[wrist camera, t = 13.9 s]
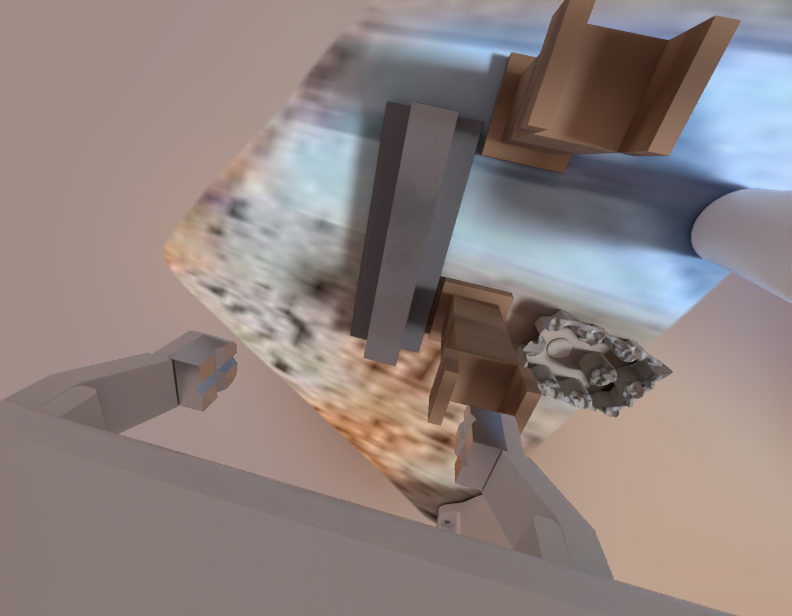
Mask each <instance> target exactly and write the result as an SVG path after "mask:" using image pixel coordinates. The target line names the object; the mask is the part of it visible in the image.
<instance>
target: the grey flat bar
mask: <svg viewBox="0 0 792 616" xmlns="http://www.w3.org/2000/svg"><path fill="white" fill-rule="evenodd" d="M410 110H411V107H410V106H406V105H401V104H397V103H392V102H387V106H386V112H385V119H384V125H383V131H382V138H381V144H380V150H379V157H378V163H377V169H376V176H375V182H374V188H373V195H372V201H371V207H370V214H369V220H368V226H367V233H366V239H365V245H364V252H363V258H362V264H361V271H360V277H359V283H358V290H357V296H356V302H355V309H354V315H353V321H352V328H351V334H350V335H351V336H354V337H358V338H362V339H366V340H367V337H368V332H369V327H370V321H371V316H372V311H373V306H374V300H375V295H376V290H377V285H378V279H379V274H380V269H381V263H382V258H383V253H384V248H385V242H386V237H387V232H388V226H389V221H390V216H391V211H392V205H393V200H394V195H395V189H396V184H397V179H398V174H399V168H400V163H401V158H402V152H403V147H404V142H405V137H406V131H407V126H408V121H409V116H410ZM482 126H483V122H479V121H474V120H470V119H465V118H461V117H457V121H456V126H455V130H454V134H453V138H452V142H451V146H450V150H449V154H448V158H447V162H446V166H445V170H444V174H443V178H442V182H441V186H440V190H439V194H438V198H437V202H436V206H435V210H434V214H433V218H432V222H431V226H430V230H429V234H428V238H427V242H426V246H425V250H424V254H423V258H422V262H421V266H420V270H419V274H418V278H417V282H416V286H415V290H414V294H413V298H412V302H411V306H410V310H409V314H408V318H407V322H406V326H405V331H404V335H403V339H402V343H401V347H400V348H402V349H406V350H410V351H414V352H418V353H419V350H420V346H421V343H422V339H423V336H424V332H425V328H426V325H427V321H428V318H429V314H430V311H431V307H432V304H433V300H434V296H435V293H436V289H437V286H438V282H439V279H440V275H441V272H442V268H443V264H444V261H445V257H446V254H447V250H448V247H449V243H450V240H451V236H452V232H453V229H454V225H455V222H456V218H457V215H458V211H459V208H460V204H461V200H462V197H463V193H464V190H465V186H466V183H467V179H468V175H469V172H470V168H471V165H472V161H473V158H474V154H475V151H476V147H477V143H478V140H479V136H480V133H481V129H482Z"/></svg>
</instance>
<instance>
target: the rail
mask: <svg viewBox="0 0 792 616" xmlns="http://www.w3.org/2000/svg"><path fill="white" fill-rule="evenodd" d="M458 113H459V112H457V111H453V110H448V109H444V108H439V107H434V106H430V105H425V104H421V103H416V102H412V105H411V110H410V116H409V121H408V126H407V131H406V137H405V142H404V147H403V152H402V158H401V163H400V168H399V174H398V179H397V184H396V189H395V195H394V200H393V205H392V211H391V216H390V221H389V226H388V232H387V237H386V242H385V248H384V253H383V258H382V263H381V269H380V274H379V279H378V285H377V290H376V295H375V300H374V306H373V311H372V316H371V321H370V327H369V332H368V337H367V343H366V348H365V353H364V358H366V359H370V360H374V361H378V362H382V363H386V364H389V365H393V366H396V363H397V359H398V355H399V351H400V347H401V343H402V339H403V335H404V331H405V326H406V322H407V318H408V314H409V310H410V306H411V302H412V298H413V294H414V290H415V286H416V282H417V278H418V274H419V270H420V266H421V262H422V258H423V254H424V250H425V246H426V242H427V238H428V234H429V230H430V226H431V222H432V218H433V214H434V210H435V206H436V202H437V198H438V194H439V190H440V186H441V182H442V178H443V174H444V170H445V166H446V162H447V158H448V154H449V150H450V146H451V142H452V138H453V134H454V130H455V126H456V121H457V117H458Z"/></svg>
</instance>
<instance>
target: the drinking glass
mask: <svg viewBox="0 0 792 616" xmlns="http://www.w3.org/2000/svg"><path fill="white" fill-rule="evenodd" d="M691 243H692V246H693V249H694V250H695V252H696V253H697V254H698V255H699V256H700V257H701V258H703V259H705V260H707V261H709V262H711V263H714V264H716V265H719V266H721V267H723V268H725V269H727V270H729V271H731V272H733V273H735V274H737V275H739V276H741V277H743V278H745V279H747V280H749V281H750V282H752V283H754V284H757V285H758V286H760V287H762V288H764V289H766V290H768V291H769V292H771V293H773V294H775V295H777V296H779V297H781V298H783V299H784V300H786V301H788V302H790V303H792V190H770V189H759V188H750V189H742V190H737V191H734V192H731V193H728V194H726V195H724V196H722V197H720V198H718V199H717V200H715V201H714V202H712V203H711V204H710V205H708V206H707V207H706V208H705V209H704V210H703V211H702V212H701V214H700V215H699V216H698V218H697V219H696V221H695V223H694V225H693V228H692V232H691Z"/></svg>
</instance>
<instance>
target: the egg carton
mask: <svg viewBox="0 0 792 616" xmlns="http://www.w3.org/2000/svg"><path fill="white" fill-rule="evenodd" d="M534 325H535V327H536V328H537V331H538V332H539V334H540V335H539V338H538V340H537V341H530V342H529V343H528V344H527V345H521V344H520V345H519V347H518V348H517V349H516V351H515V353H516V356H517V359H518V361H519V364H520V366H522V367H527V365H528V364H527V358H526V356H536V355H538V354H540V353H541V352H542V351H544V349H545V345H546V342H545V339H544V337H543V336H542V334H541V333H542V332H543V331H544V330H546V329H547V330H548V331H551V330H554V331H558V330H560V329H561V328H564V327H565V326H567V325H569V326H570V327H571V329H572V330H573V332H574V333H575V334H576V336H577V337H578V338H579V339H580V340H581V341H584V342H586V343H588V344H590V346H593V345H596V344H599V343H601V342H602V340H603V341H604V342H605V343H606V344H607V345H608V347H609V348H610V349H611V350H612V351H613V352H614V354H615V355H616V356H617V357H618V358H619V359H620V360H622V361H625V362H631V363H629V364H628V365H627V366H621V367H618V368H616V369H614V367H613V366H612V365H611V364H610V363H609V361H608V360H607V359H606V358H605V356H604V355H603V354H601V353H599V352H590V353H586V354H584V355H583V356H582V357H581V358H580V360H579V366H580V368H581V370H582V371H583V373H584V375H585V376H586V378H587V380H588V382H589V384H590V385H596V386H603V385H605V386H604V387H603V388H602V389H601V390H600V391H598V392H595V393H593V394H592V395H589V393H588V391H587V390H586V388H585V387H584V385H583V383H582V382H581V381H580V380H579V379H576V378H568V379H565V380H563V381H558V380H556V378H555V376H554V375H553V373H552V371H551V370H550V368H549V367H547V366H544V365H536V366H534V367H532V368H530V369H531V370H532V372H533V375H534V377H535V380H536V382H537V384H538V387H539V389H540V392H541V394H542V395H544V396H546V394H548V395H550V396H551V397H553V398H555V399H557V400H559V399H560V400H562V401H564V402H567V403H569V404H571V405H573V406H575V407H579V408H584V409H591V410H594V411H598V410H600V411H602V412H604V414H606V415H608V416H613V417H617V416H618V415H619V410H620V409H621V408H622V407H624V406H628V407H632V405H633V402H634V400H635V399H638V398H640V397H642V396H643V395H644V394H645V393H646V392H648V391H649V390H651V389H654V384H655V382H656V381H659V380H661V379H663V378H665V377H666V376H668V375H670V374H671V373H673V372H672V371H671V369H669V368H668V367H667V366H666V365H664V364H663V363H661V362H660V361H659V360H657V359H656V358H654V357H653V356H651V355H649V354H648V353H647V352H646V351H645V350H644V349H643V348H642V347H641V346H640V345H639V344H638V343H637V342H634V341H632V340H627V341H625V342H624V341H622V340H620V339H618V338H616V337H614V336H612V335H610V334H608V333H607V332H606V331H605V329H604V328H602V327H599V326H597V325H593V326H590V325H587V324H584V323H581V322H577V321H575V320H574V319H573V318H572V317H571V315H570V314H569V313H567V312H565V311H562V310H559V311H558V312H557V313H555V314H554V315H552V316H541V317H539V318H538V320H537V321H536V322H535V324H534ZM572 349H573V346H572V343H571V342H570V341H569V340H567V339H565V338H558V339H554V340H552V341H551V342H550V343H549V344H548V346H547V353H548V355H550V356H551V357H553V358H557V359H560V358H564V357H566V356H568V355H569V354H570V353H571V352H572Z"/></svg>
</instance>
